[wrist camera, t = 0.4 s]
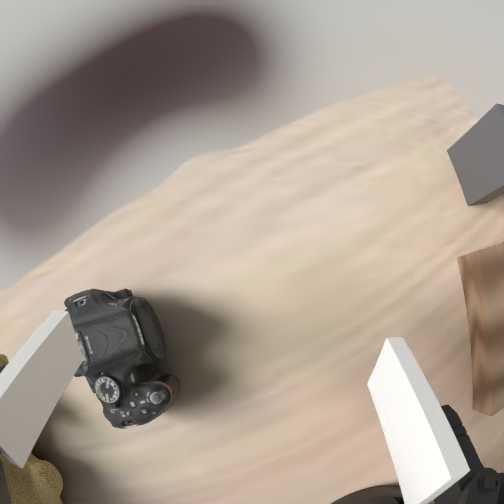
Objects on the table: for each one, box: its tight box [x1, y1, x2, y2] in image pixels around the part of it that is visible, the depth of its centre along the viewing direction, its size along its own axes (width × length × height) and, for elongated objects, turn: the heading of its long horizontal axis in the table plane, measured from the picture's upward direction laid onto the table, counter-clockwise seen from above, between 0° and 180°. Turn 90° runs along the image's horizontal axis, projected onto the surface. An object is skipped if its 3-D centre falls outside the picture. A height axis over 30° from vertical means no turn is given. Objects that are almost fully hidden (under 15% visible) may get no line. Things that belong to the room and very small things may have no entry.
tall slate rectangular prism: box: [447, 104, 504, 206], centre depth 25 cm, size 8×5×12 cm, turn 11°
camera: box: [64, 289, 180, 429], centre depth 22 cm, size 13×10×10 cm
